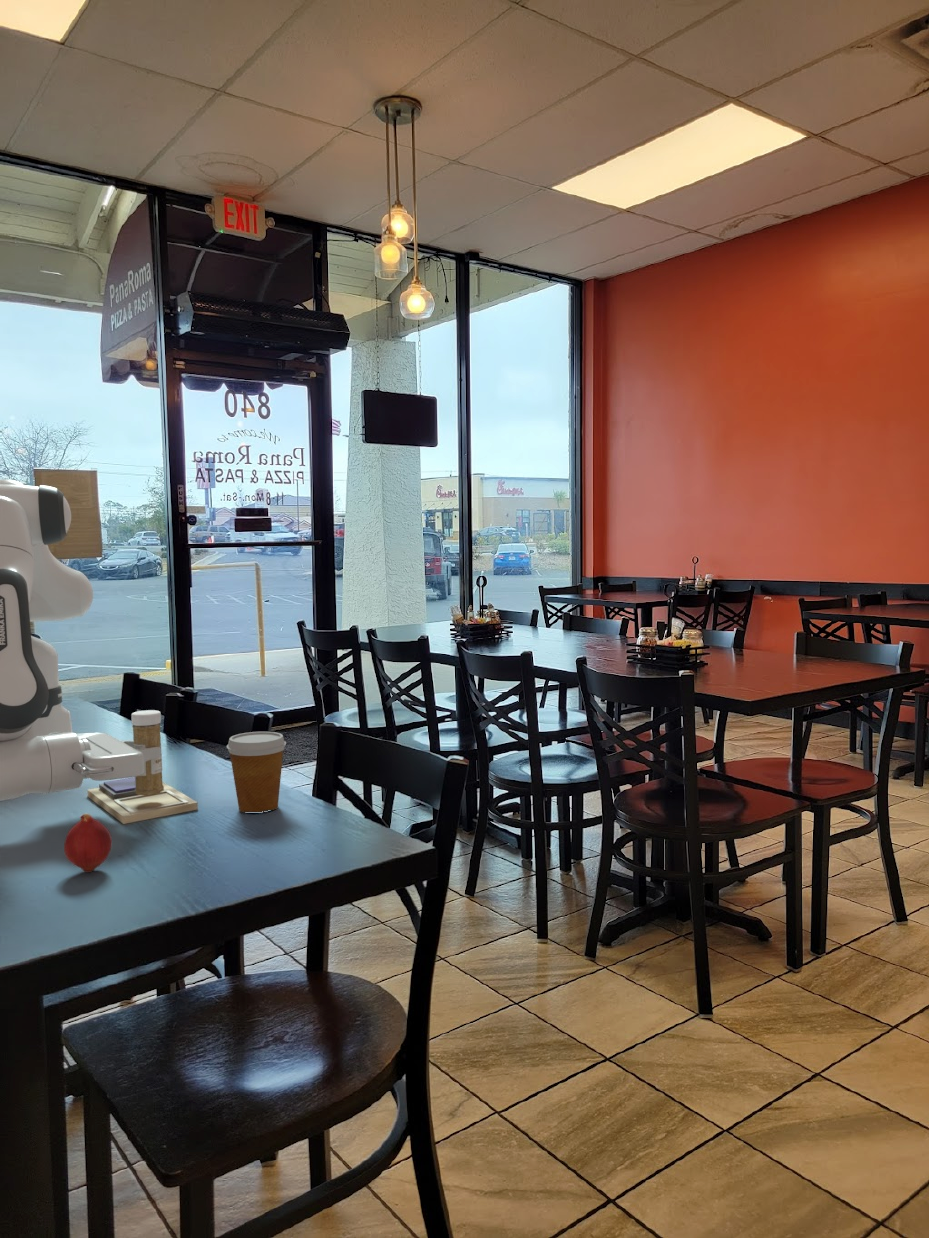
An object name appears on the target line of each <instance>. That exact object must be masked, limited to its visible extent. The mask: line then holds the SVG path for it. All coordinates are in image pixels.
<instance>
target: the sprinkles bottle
mask: <svg viewBox="0 0 929 1238" xmlns="http://www.w3.org/2000/svg"><path fill="white" fill-rule="evenodd" d="M130 716H131V725H132V735H133V737H132V739H133V740H132V741H134V742H133V748H134V749H145V748H147V747H151V746H157V747H160V748H161V749H162V740H161V723H162V714H161V711H159V710H155V709H148V710H147V709H146V710H138V711H135V712H132V713H131V715H130ZM162 754H163V753H161V757H160V758H156V759H151V760H148V761H146V762H144V773H143V774H142V775H139V776H136V777H135V784H136V789H135V793H136V794H138V795H154V794H157V793H160V792H162V791H163V789H164V788H163V783H162V782H163V759H162V758H163V757H162Z"/></svg>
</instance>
